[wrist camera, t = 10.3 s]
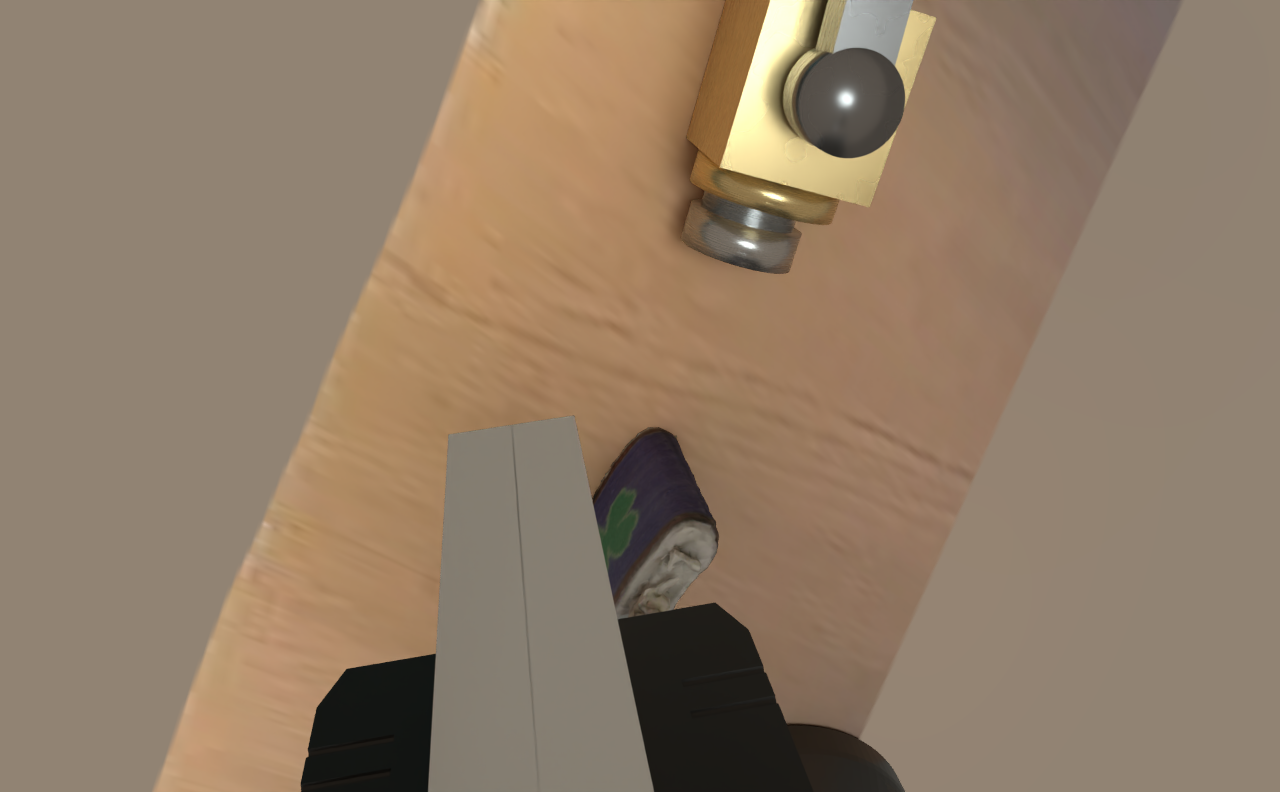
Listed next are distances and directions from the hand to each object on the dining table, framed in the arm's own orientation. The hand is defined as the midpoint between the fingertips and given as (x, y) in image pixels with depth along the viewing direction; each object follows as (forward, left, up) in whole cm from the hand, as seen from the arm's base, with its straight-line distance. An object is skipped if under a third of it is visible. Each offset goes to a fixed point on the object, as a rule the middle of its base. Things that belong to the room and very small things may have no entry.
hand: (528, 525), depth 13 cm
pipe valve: (+5, -11, -34) cm, 36 cm away
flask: (-16, -10, -35) cm, 40 cm away
